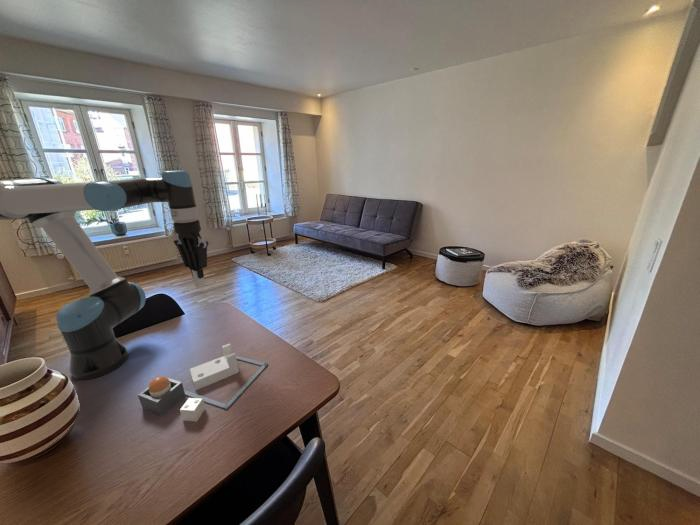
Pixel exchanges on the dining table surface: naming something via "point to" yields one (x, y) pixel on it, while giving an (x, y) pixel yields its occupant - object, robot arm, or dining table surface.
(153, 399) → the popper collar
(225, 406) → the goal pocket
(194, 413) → the die
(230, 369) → the bracket
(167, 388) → the orange and white capsule
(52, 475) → the dining table surface
